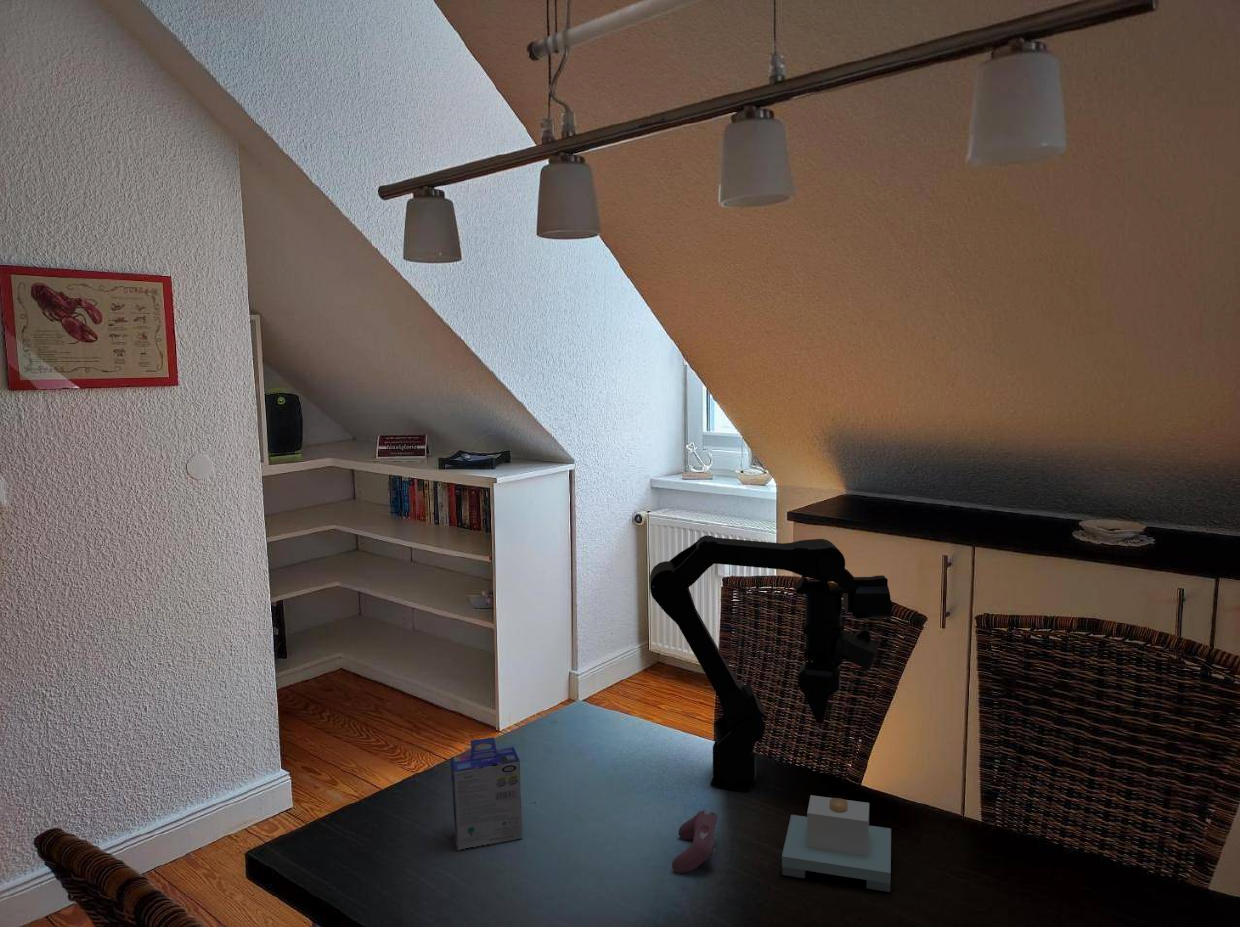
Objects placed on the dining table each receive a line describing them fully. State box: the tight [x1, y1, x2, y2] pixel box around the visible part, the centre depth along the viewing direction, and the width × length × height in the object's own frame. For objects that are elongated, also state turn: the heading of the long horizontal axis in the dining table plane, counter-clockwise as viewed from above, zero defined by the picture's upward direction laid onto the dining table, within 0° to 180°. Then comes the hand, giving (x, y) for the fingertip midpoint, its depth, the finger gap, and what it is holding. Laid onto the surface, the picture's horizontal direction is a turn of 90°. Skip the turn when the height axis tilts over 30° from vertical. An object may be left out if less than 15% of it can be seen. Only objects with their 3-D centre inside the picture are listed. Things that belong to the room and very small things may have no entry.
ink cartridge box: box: [449, 737, 524, 851], centre depth 128 cm, size 10×6×14 cm, turn 108°
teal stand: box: [781, 814, 892, 893], centre depth 120 cm, size 14×11×3 cm
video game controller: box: [671, 808, 719, 874], centre depth 122 cm, size 10×5×7 cm, turn 170°
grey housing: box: [806, 794, 870, 857], centre depth 119 cm, size 5×8×6 cm, turn 72°
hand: (822, 711), depth 142 cm, fingers open, 9 cm apart
